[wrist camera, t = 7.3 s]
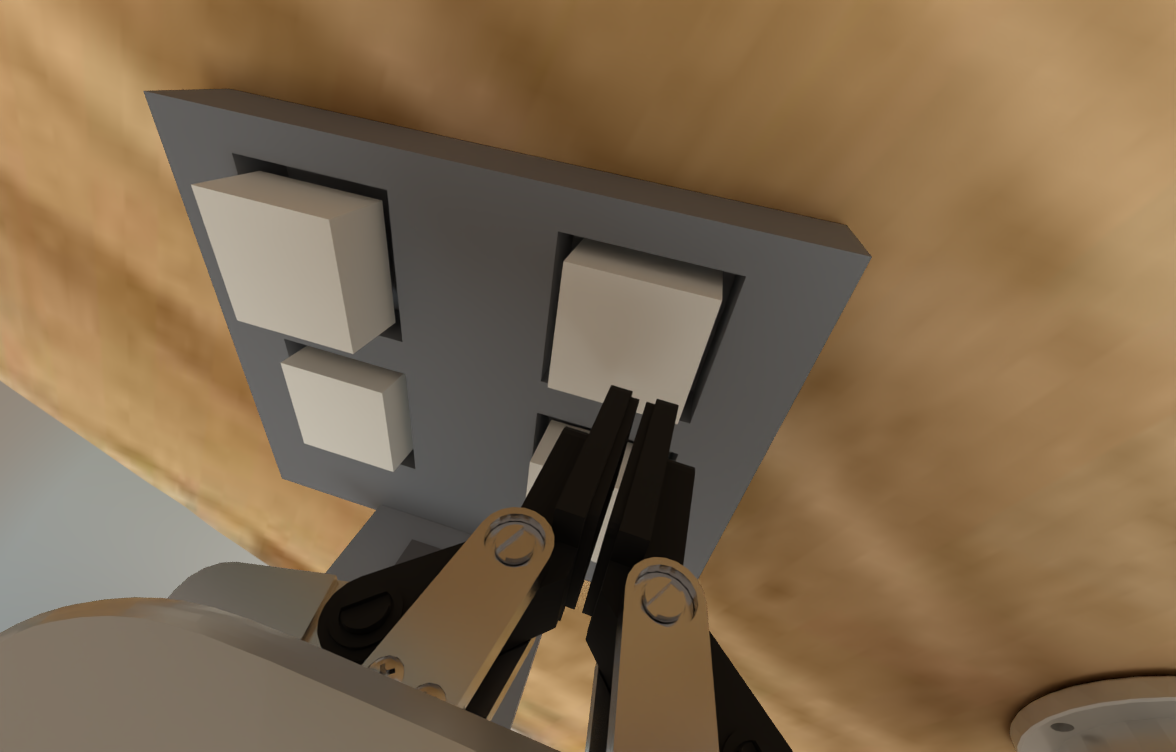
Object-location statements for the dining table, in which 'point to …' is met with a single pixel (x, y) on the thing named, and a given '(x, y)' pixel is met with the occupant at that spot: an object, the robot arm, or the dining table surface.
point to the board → (515, 303)
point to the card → (405, 539)
